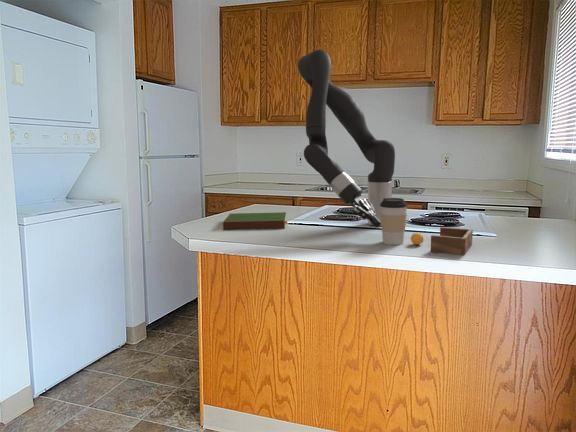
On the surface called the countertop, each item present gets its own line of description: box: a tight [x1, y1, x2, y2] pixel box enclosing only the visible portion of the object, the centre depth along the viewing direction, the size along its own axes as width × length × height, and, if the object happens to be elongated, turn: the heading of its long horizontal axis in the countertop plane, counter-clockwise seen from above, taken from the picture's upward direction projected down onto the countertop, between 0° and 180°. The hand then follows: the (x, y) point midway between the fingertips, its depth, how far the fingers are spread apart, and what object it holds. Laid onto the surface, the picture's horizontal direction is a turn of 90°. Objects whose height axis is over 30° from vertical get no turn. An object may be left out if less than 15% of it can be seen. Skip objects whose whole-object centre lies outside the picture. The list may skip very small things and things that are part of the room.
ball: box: [410, 232, 424, 246], centre depth 154 cm, size 4×4×4 cm
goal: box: [430, 226, 474, 256], centre depth 148 cm, size 14×10×5 cm
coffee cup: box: [380, 197, 408, 246], centre depth 156 cm, size 9×9×15 cm
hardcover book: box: [222, 211, 288, 231], centre depth 194 cm, size 25×19×4 cm
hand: (379, 225), depth 159 cm, fingers closed
